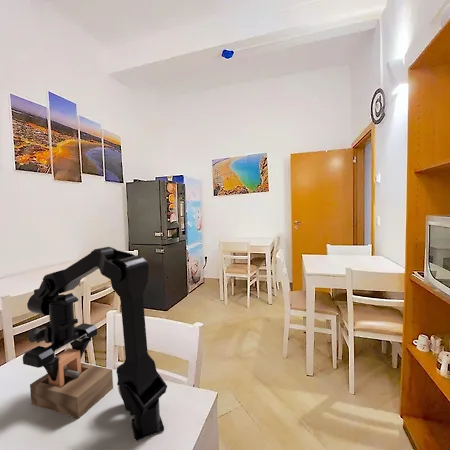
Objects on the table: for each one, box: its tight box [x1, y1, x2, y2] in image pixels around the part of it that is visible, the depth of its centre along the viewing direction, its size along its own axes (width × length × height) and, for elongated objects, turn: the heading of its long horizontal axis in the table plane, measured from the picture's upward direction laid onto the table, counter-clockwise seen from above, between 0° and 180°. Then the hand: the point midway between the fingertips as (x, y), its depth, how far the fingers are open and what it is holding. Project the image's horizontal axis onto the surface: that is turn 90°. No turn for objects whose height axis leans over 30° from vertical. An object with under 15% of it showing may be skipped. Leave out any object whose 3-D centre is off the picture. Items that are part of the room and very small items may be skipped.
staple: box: [48, 347, 82, 387], centre depth 78 cm, size 7×4×6 cm, turn 161°
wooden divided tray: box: [29, 362, 114, 420], centre depth 77 cm, size 16×12×7 cm
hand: (65, 372), depth 78 cm, fingers closed on staple, 7 cm apart
